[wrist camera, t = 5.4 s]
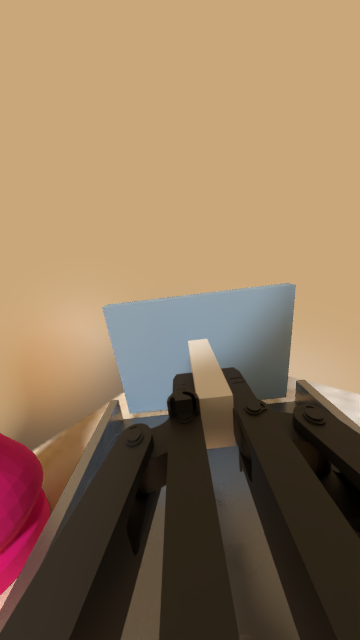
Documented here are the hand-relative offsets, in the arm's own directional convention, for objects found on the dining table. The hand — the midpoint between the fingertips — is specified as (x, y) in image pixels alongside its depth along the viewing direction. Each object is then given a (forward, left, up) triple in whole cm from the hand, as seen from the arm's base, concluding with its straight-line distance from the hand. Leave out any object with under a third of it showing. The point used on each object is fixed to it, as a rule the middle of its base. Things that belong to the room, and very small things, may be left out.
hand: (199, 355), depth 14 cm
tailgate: (0, -5, -8) cm, 9 cm away
